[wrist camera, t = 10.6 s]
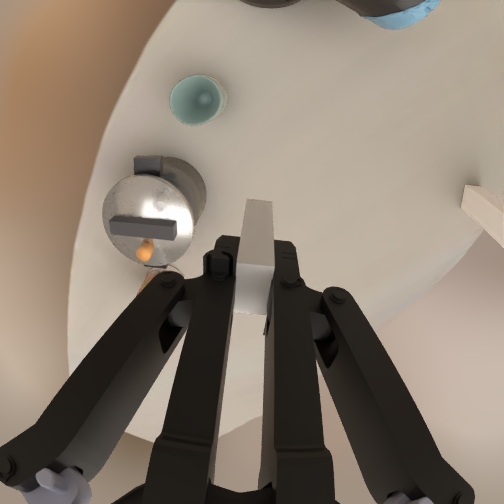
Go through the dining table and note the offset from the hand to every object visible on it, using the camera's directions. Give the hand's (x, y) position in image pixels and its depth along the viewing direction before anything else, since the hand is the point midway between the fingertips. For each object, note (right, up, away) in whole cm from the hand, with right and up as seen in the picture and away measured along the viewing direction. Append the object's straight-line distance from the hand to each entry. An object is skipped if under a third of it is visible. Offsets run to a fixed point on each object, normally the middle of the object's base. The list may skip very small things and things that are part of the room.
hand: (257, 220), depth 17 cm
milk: (+51, +11, +31) cm, 61 cm away
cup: (-8, +25, +26) cm, 37 cm away
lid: (-17, +3, +25) cm, 31 cm away
